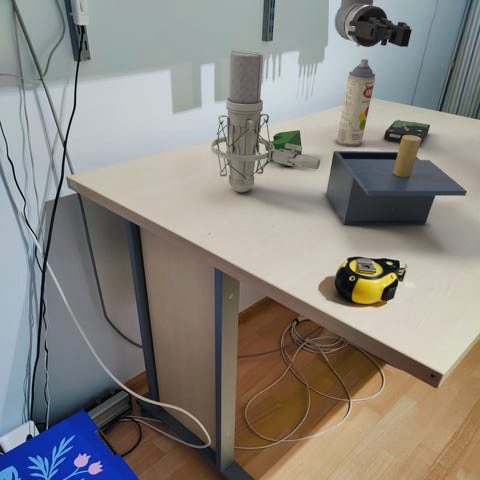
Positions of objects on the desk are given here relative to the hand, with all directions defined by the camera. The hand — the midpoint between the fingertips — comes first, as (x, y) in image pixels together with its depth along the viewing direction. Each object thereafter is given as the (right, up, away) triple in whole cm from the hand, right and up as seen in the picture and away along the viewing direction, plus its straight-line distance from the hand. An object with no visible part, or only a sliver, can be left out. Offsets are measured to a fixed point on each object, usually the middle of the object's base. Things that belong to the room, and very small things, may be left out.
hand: (405, 38), depth 79 cm
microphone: (-26, -27, +9) cm, 39 cm away
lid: (-3, -28, -5) cm, 29 cm away
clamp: (-20, -13, +27) cm, 36 cm away
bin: (-4, -30, +7) cm, 31 cm away
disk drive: (+18, +1, +46) cm, 49 cm away
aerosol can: (0, -3, +39) cm, 40 cm away
